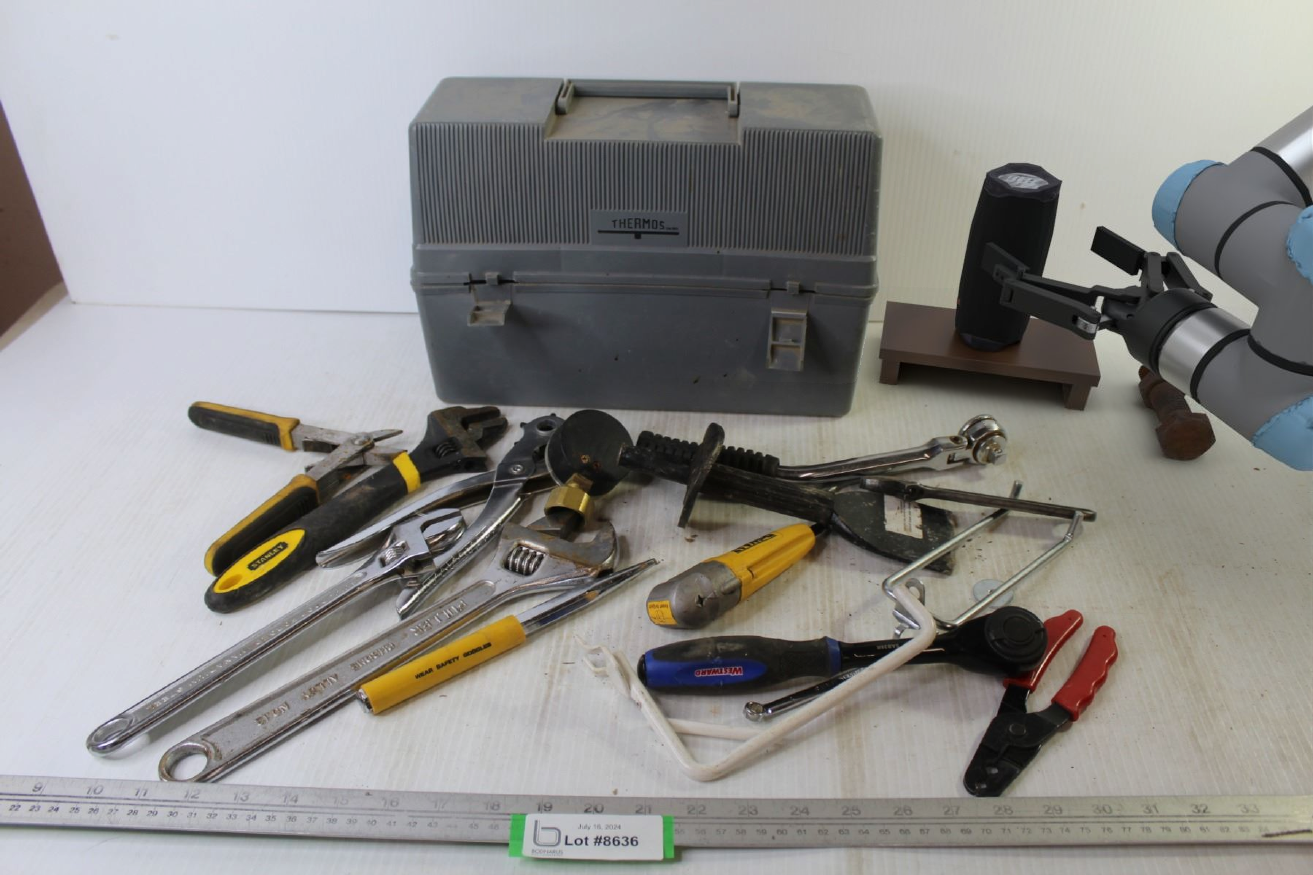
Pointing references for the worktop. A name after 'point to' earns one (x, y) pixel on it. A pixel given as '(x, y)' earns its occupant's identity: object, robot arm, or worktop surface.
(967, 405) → the worktop surface
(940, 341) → the shelf
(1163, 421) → the bolt
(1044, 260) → the portable speaker
